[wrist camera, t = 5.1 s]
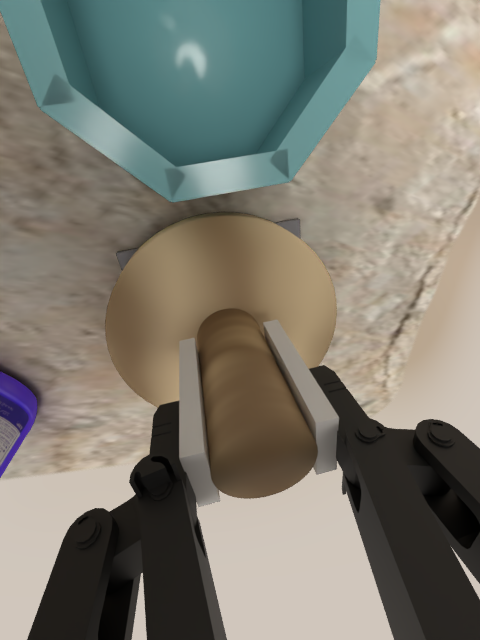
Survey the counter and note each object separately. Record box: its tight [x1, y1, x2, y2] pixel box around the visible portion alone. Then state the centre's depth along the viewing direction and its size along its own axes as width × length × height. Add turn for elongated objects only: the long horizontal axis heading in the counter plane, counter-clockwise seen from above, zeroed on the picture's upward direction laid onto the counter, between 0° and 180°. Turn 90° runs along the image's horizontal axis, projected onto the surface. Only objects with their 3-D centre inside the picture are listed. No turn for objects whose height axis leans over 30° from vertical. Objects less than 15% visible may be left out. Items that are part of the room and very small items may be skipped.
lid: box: [105, 212, 337, 498], centre depth 13 cm, size 13×13×10 cm
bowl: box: [0, 0, 380, 203], centre depth 11 cm, size 12×12×5 cm
